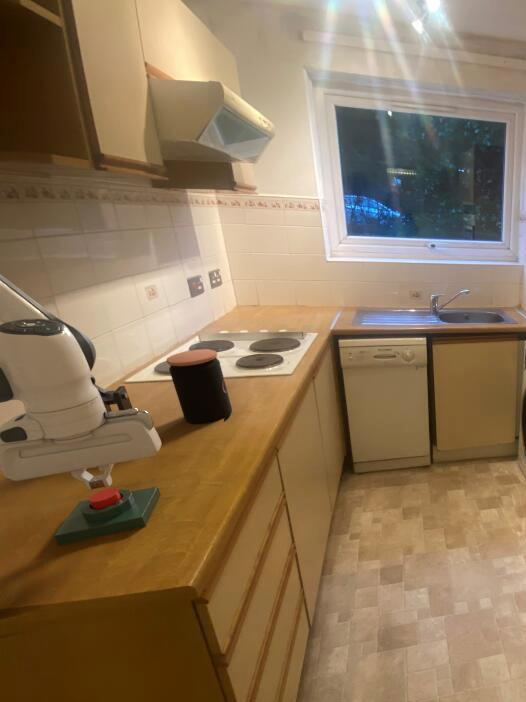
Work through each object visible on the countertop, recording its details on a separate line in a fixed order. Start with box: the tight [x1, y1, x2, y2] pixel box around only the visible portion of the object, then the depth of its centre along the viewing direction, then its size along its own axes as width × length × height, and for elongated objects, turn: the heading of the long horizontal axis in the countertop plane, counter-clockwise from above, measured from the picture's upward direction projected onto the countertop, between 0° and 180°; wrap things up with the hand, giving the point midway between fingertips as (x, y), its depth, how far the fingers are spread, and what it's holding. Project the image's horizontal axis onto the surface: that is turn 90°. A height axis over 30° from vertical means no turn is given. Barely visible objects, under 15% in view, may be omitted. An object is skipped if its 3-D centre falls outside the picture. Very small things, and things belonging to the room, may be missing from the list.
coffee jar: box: [165, 348, 233, 425], centre depth 114 cm, size 11×11×18 cm
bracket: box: [101, 385, 133, 412], centre depth 102 cm, size 10×8×14 cm
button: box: [88, 487, 121, 509], centre depth 78 cm, size 4×4×2 cm
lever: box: [90, 373, 117, 406], centre depth 95 cm, size 14×4×4 cm
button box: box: [53, 485, 162, 546], centre depth 79 cm, size 12×10×4 cm
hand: (100, 486), depth 77 cm, fingers closed
